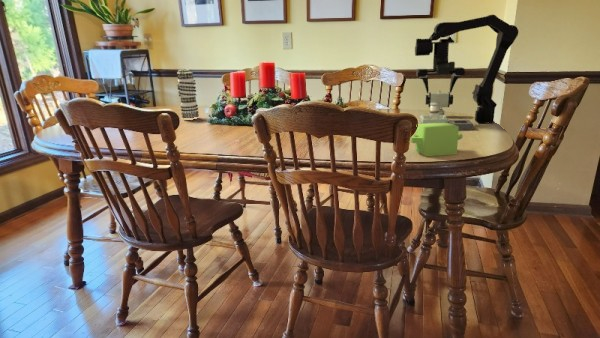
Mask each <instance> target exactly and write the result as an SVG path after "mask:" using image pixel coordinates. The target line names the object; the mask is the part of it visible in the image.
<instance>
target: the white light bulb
mask: <svg viewBox="0 0 600 338" xmlns="http://www.w3.org/2000/svg"><path fill="white" fill-rule="evenodd" d="M439 105H440V103H436V102H434V103H430V107H429V115H430V119H439Z"/></svg>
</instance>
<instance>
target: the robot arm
mask: <svg viewBox="0 0 600 338" xmlns="http://www.w3.org/2000/svg"><path fill="white" fill-rule="evenodd" d="M482 27H483V28H484V27H489V28H490V29H491V30H492V31H494V32H495V33H496V34H497V35H496V39H495V40H496V41H495V49H494V52H493V54H492V56H491V59H490V62H489V64H488V66H487V68H486V71H485V74H484V77H483V79H482V81H481V82H480V83H479V85H478V84H477V83H476V84H475V85H474V90H473V92H471V94H472V100H473V101H474V102H475V103H476V104H477V107H476V110H475V112H474V113H475V114H474V121H475V122H477V123H478V124H495V120H494V119H495V110H496V107H497V102H495V101H494V100H493V99H492V98H493V93H494V84H495V81H496V78H497V76H498V73H499V71H500V68H501V66H502V63H503V61H504V59H505V56H506V54H507V52H508V50H509V48H510V47H511V46H512V45H513V44H514V42H515V40H516V39H517V37H518V35H519V29H518V27H517V26H516V25H514V24H509V23H507V22H506V21H504V20H503V19H501V18H499V17H498V16H497V15H496V14H488V15H486V16H481V17H475V18H471V19H468V20H463V21H449V22H448V21H446V22H445V21H444V22H439V23H437V24H436V25H435V26H434V28H433V32H432V34H431V35H430V36H429V38H416V40H415V46H414V56H415V57H419V56H420V57H421V56H423V57H424V56H430V55H431V54H432V53H433V59H432V60H433V61H432V65H433V66H432V69H431V70H430V69H427V68H418V69H416V71H415V72H416V73H415V74H416V75H415V76H416V77H417V78H419V79H421V80H422V82H423V84H424V87H425V91H426V95H428V94H429V77H428V76H431V75H433V76H434V75H435V76H436V75H437V76H439V75H440V76H441V75H450V82H449V83H450V84H449V92H450V94H451V93H452V91H453V89H454V86H455V84H456V82H457V80H459V78H461V77H462V76H465V75H466V69H465V68H464V67H462V66H461V67H459V66H458V67H456V63H455V61H449V50H450V49H449V48H450V47H449V45H450V44H454V43H455V40H454V39H453V38H452V37H451V36H452V35H455V34H456V33H459V32H463V31H467V30H473V29H478V28H482ZM446 37H447V38H446ZM438 40H439V41H438ZM433 41H434V42H433ZM477 123H476V124H477Z"/></svg>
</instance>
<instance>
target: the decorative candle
mask: <svg viewBox="0 0 600 338" xmlns="http://www.w3.org/2000/svg"><path fill="white" fill-rule="evenodd" d="M176 74H177V82H178V83H177V84H176V86H177V90H178V97H179V98H180V108H181V109H180V111H181V115H182V116H181V118H182V119H183V118H194V117H200V116H199V115H200V114H199V113H200V112H199V106H198V103H197V98H196V97H197V94H196V92H197V89H196V88H197V87H196V86H195V85H196V80H195V79H194V72H193V70H192V69H190V68H181V69H180V68H179V69H178V71H177V72H176Z"/></svg>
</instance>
